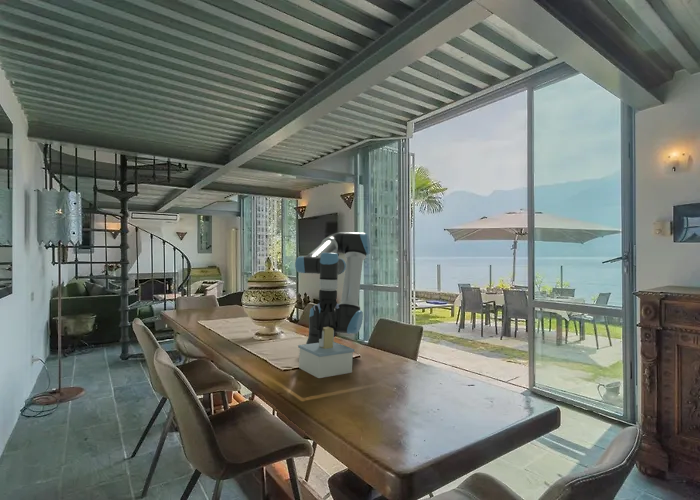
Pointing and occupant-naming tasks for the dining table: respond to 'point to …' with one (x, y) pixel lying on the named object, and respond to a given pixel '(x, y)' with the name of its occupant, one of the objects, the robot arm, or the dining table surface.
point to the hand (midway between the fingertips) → (326, 345)
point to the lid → (326, 345)
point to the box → (325, 364)
